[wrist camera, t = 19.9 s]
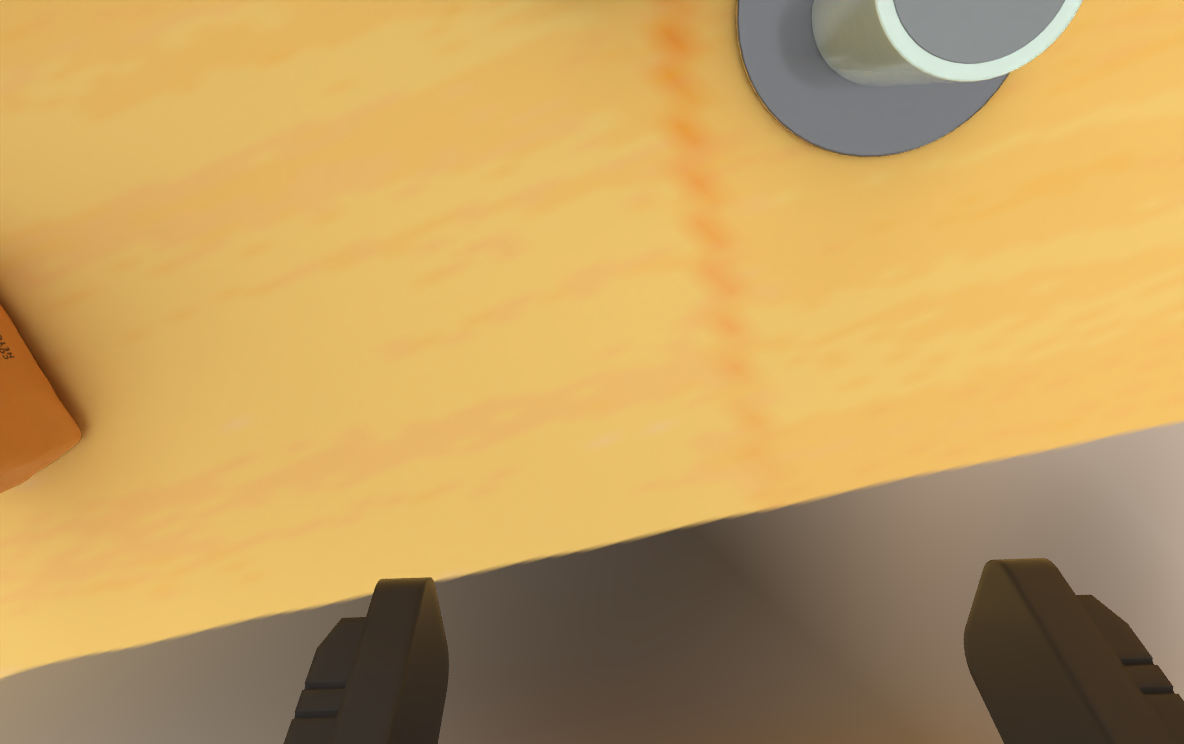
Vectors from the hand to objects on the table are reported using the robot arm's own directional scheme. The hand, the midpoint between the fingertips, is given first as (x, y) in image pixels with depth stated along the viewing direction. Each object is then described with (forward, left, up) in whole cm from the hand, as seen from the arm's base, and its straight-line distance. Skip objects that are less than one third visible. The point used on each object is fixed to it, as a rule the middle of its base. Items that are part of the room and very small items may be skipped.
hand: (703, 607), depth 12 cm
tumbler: (-1, +12, -24) cm, 27 cm away
